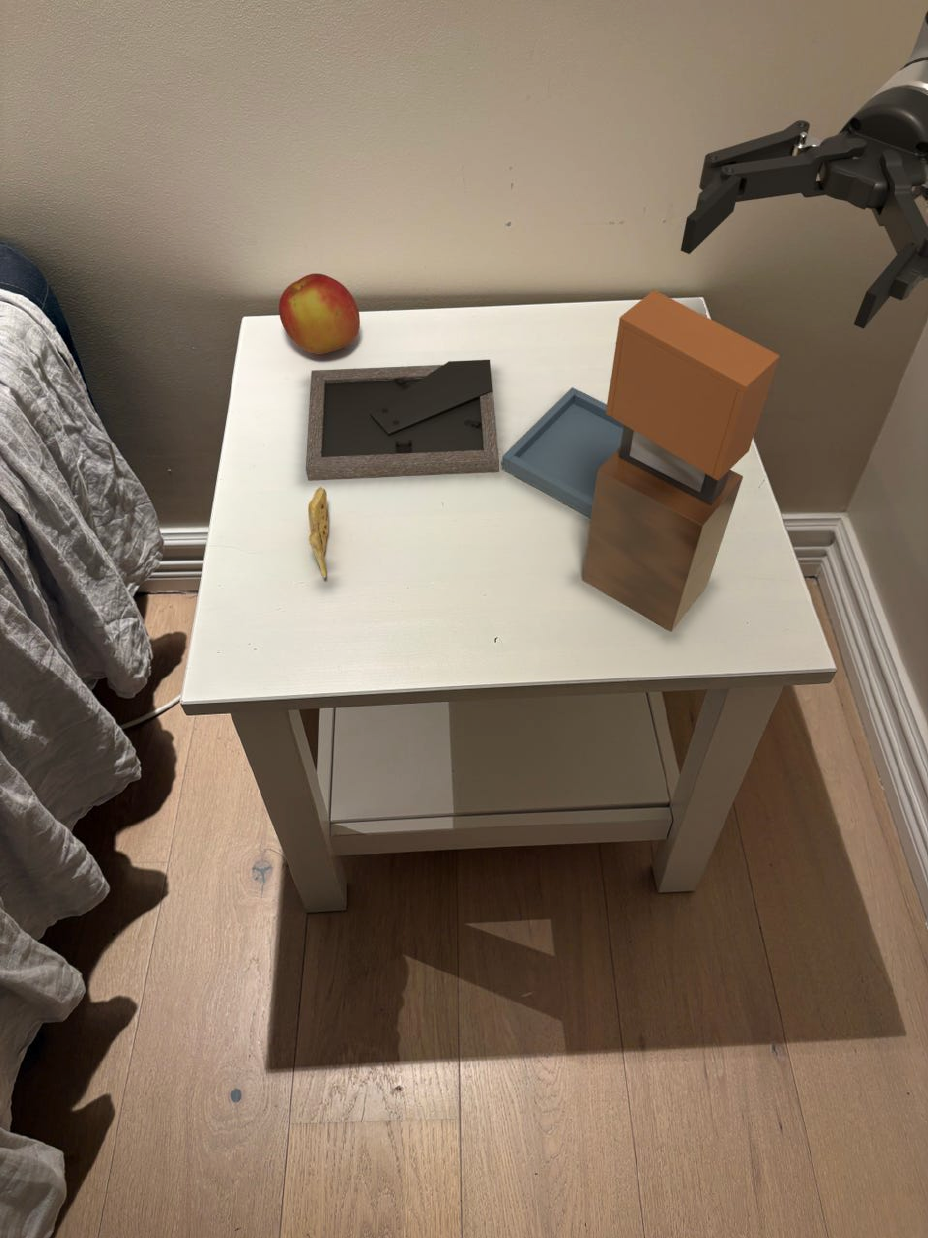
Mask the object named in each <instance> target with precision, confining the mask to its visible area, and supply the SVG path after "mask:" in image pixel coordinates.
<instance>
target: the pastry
mask: <svg viewBox="0 0 928 1238" xmlns="http://www.w3.org/2000/svg"><path fill="white" fill-rule="evenodd" d="M327 501H328V498H327V491H326V489H325V488H323V487H322V486H320V487H318V488H317V489H316V490H315V492H314V493H313V497H312V499H311V500H310V501H309V503H308V505H307V506H308V507H307V511H308V512H307V513H308V524H309V531H310V534H309V536H308V538H309V539H308V542H309V546H311V549H312V551H313V554H314V556H315V558H316V560H317V562H318V565H319V569H320V573H321V575H322V577H323V578H324V579H326V577H327V565H326V561H325V556H324V554H325V552H326V547H327V545H326V544H327V536H328V534H329V512H328V503H327Z"/></svg>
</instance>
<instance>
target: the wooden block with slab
mask: <svg viewBox="0 0 928 1238" xmlns="http://www.w3.org/2000/svg"><path fill="white" fill-rule="evenodd" d="M743 478H744V475H742V474H740V473H738V472H736V471H734V470H732V469H730V470H729V471H728V472H727V473H726V474H725V475H724V476H723V477H722V478H721V479H720V480H719V481H717V480H716V479H714V478H713V477H711V476H709V475H707V474H706V473H704V472H702V471H701V470H699V469H697V468H696V467H694V466H692V465H691V464H689V463H687V462H686V461H684V460H682V459H681V458H679V457H677V456H676V455H674V454H672V453H671V452H669V451H667V450H666V449H664V448H662V447H661V446H659V445H657V444H656V443H654V442H652V441H651V440H649V439H647V438H646V437H644V436H642V435H641V434H639V433H637V432H636V431H634V430H632V429H631V428H629V427H627V426H626V425H624V427H623V433H622V438H621V444H620V447H619V448H618V449H617V450H616V451H615V452H614V453H613V454H612V456H611V457H610V458H609V459H608V460H607V461H606V462H605V463H604V464H603V465H602V466H601V467H600V468H599V470H598V474H597V481H596V488H595V495H594V501H593V508H592V515H591V518H590V521H589V522H590V523H589V530H588V537H587V544H586V550H585V551H586V552H585V558H584V564H583V570H582V571H583V572H582V579H581V580H582V581H583V582H585V583H587V584H589V585H590V586H592V587H594V588H595V589H597V590H599V591H600V592H602V593H604V594H606V595H607V596H609V597H611V598H612V599H614V600H616V601H617V602H619V603H621V604H623V605H624V606H626V607H628V608H629V609H631V610H633V611H635V612H636V613H638V614H640V615H642V616H643V617H645V618H646V619H648V620H650V621H652V622H653V623H655V624H657V625H659V626H660V627H662V628H664V629H665V630H666V631H669V632H673V631H674V629H675V628H676V627H677V626H678V625H679V623H680V622H681V621H682V619H683V618H684V617H685V616H686V614H687V613H688V612H689V610H690V609H691V608H692V606H693V605H694V604H695V602H696V601H697V600H698V599H699V598H700V596H701V595H702V593H703V592H704V591H705V590H706V589H707V587H708V585H709V583H710V579H711V575H712V573H713V570H714V566H715V564H716V561H717V558H718V555H719V551H720V548H721V545H722V543H723V539H724V536H725V533H726V530H727V527H728V524H729V521H730V518H731V515H732V512H733V509H734V507H735V503H736V500H737V498H738V497H737V496H738V493H739V491H740V488H741V484H742V482H743Z"/></svg>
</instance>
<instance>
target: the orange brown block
mask: <svg viewBox="0 0 928 1238" xmlns="http://www.w3.org/2000/svg"><path fill="white" fill-rule="evenodd" d="M613 353H614V354H613V361H612V366H611V367H612V368H611V375H610V381H609V389H608V396H607V402H606V404H607V408H606V414H607V415H609V416H611V417H612V418H614V419H615V420H617V421H619V422H621V423H622V424H624V425H626V426H627V427H629V428H631V429H632V430H634V431H636V432H637V433H639V434H641V435H642V436H644V437H646V438H647V439H649V440H651V441H652V442H654V443H656V444H657V445H659V446H661V447H662V448H664V449H666V450H667V451H669V452H671V453H672V454H674V455H676V456H677V457H679V458H681V459H682V460H684V461H686V462H687V463H689V464H691V465H692V466H694V467H696V468H697V469H699V470H701V471H702V472H704V473H706V474H707V475H709V476H711V477H713V478H714V479H716V480H717V481H719V480H720V479H721V478H722V477H723V476H724V475H725V474H726V473H727V472H728V471H729V470H732V468H733V467H734V466H736V464H737V463H738V462H739V461H741V459H742V458H744V456H745V455H747V453H749V452H750V450H751V449H750V448H751V446H752V444H753V443H752V442H753V439H754V437H755V433H756V430H757V427H758V425H759V421H760V418H761V415H762V412H763V409H764V406H765V404H766V400H767V397H768V394H769V390H770V387H771V384H772V381H773V378H774V375H775V372H776V369H777V366H778V363H779V360H780V356H781V355H780V354H778V353H776V352H774V351H772V350H770V349H768V348H766V347H764V346H763V345H761V344H758V343H757V342H755V341H753V340H751V339H749V338H747V337H745V336H743V335H742V334H739V333H737V332H736V331H734V330H733V329H730V328H728V327H727V326H725V325H723V324H720V323H719V322H717V321H715V320H713V319H711V318H709V317H707V316H706V315H703V314H702V313H699V312H698V311H695V310H694V309H692V308H690V307H688V306H686V305H684V304H682V303H680V302H678V301H676V300H675V299H673V298H671V297H669V296H667V295H665V294H663V293H661V292H660V291H658V290H655V289H653V290H652V291H651V292H650V293H648V294H647V295H645V296H644V297H643V298H642V299H641V300H639V301H638V302H637V303H636V304H635V305H633V306H632V307H631V308H630V309H628V310H627V311H626V312H624V313H623V314H622V315H620V316H619V319H618V327H617V333H616V340H615V346H614V352H613Z"/></svg>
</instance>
